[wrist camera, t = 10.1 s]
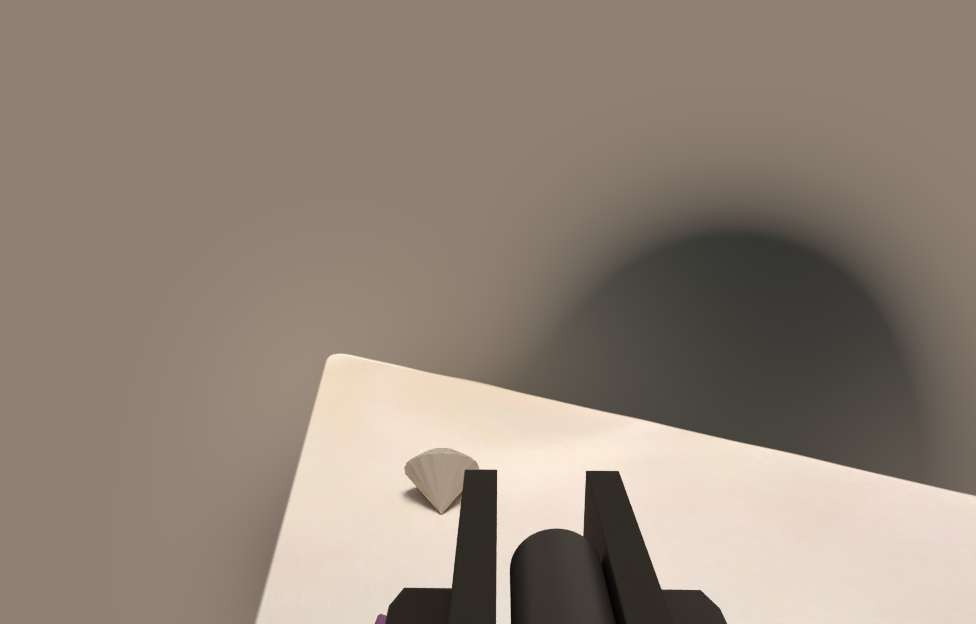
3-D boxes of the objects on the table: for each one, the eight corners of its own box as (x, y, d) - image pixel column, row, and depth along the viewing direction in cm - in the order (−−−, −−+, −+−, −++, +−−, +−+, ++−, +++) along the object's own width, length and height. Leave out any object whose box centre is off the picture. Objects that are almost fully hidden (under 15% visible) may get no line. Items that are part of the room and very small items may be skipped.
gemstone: (407, 498, 50) (409, 437, 53) (398, 526, 54) (400, 468, 57) (488, 502, 51) (485, 442, 54) (471, 529, 56) (470, 472, 59)
